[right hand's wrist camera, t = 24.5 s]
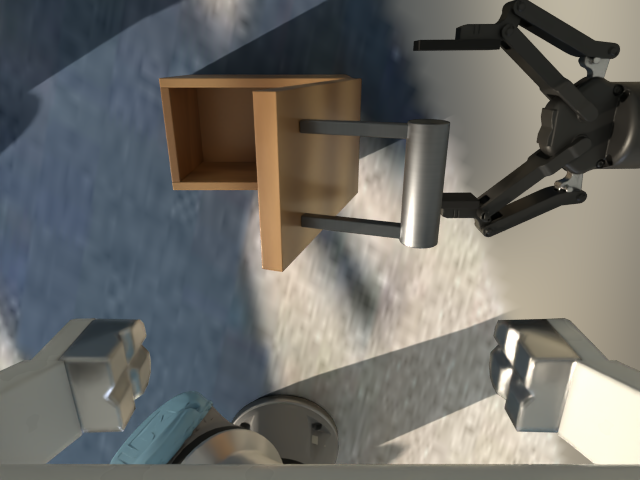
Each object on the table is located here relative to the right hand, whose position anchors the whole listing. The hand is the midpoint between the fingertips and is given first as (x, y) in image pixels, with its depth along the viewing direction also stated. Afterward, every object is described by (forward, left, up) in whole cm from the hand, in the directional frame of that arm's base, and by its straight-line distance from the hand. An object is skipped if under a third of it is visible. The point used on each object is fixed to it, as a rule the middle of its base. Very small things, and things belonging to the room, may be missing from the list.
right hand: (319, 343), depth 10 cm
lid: (0, 0, -21) cm, 21 cm away
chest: (-2, -5, -39) cm, 39 cm away
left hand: (+3, +8, -32) cm, 33 cm away
